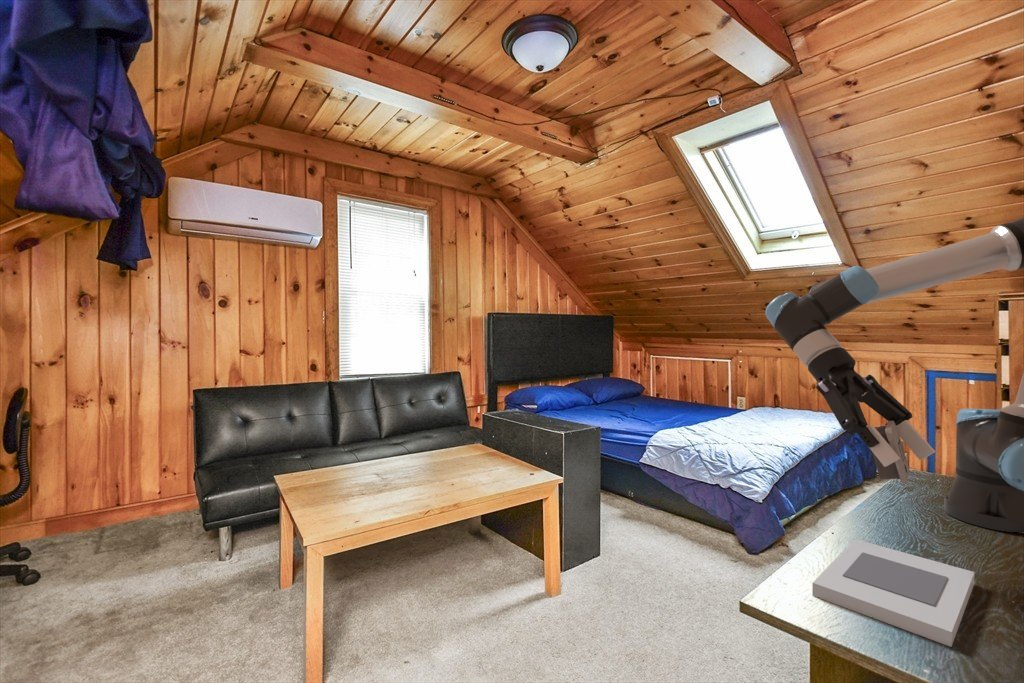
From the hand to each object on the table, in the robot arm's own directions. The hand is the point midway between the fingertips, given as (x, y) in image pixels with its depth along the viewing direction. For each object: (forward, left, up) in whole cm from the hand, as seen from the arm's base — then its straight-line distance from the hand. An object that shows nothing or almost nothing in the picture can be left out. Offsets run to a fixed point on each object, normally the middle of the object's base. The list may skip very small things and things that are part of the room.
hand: (910, 459), depth 83 cm
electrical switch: (+1, -3, -4) cm, 5 cm away
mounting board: (+9, +8, -18) cm, 22 cm away
